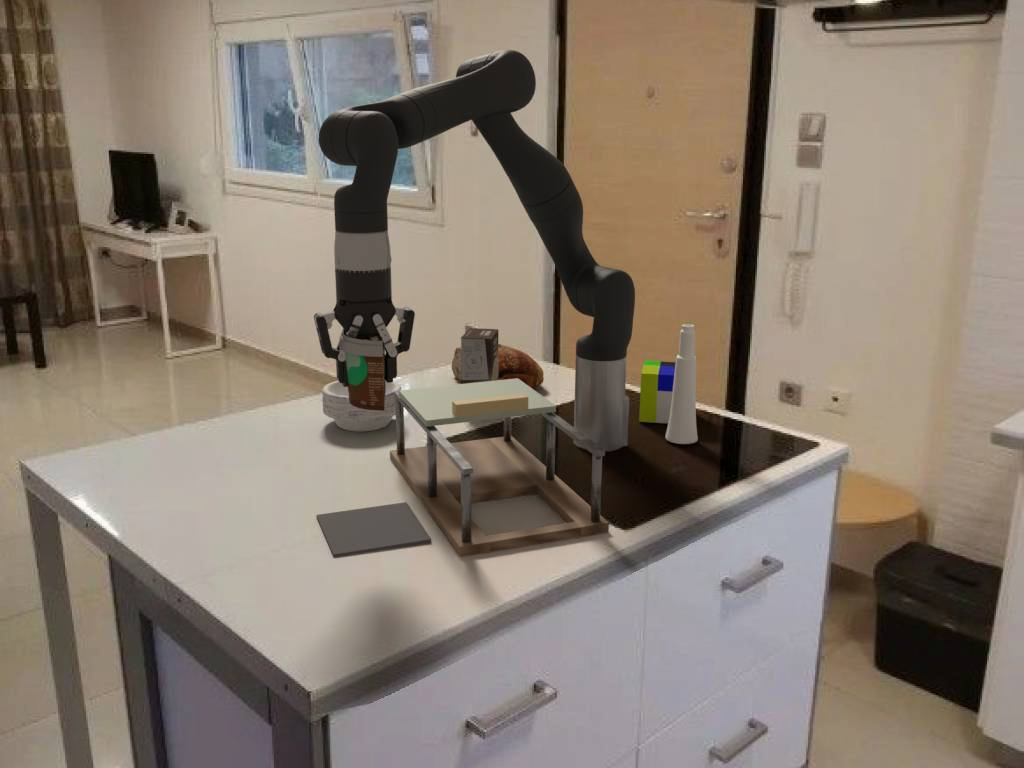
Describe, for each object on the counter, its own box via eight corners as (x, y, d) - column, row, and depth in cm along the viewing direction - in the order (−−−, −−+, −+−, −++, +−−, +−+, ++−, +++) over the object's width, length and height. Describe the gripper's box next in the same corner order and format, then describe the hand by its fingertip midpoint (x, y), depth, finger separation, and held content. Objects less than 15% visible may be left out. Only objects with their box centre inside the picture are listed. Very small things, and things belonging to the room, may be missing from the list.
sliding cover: (517, 383, 167) (517, 367, 166) (556, 411, 151) (556, 394, 151) (398, 395, 159) (398, 378, 158) (426, 426, 144) (425, 408, 143)
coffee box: (492, 416, 191) (492, 338, 186) (460, 414, 191) (460, 337, 187) (498, 402, 199) (499, 328, 195) (469, 401, 200) (468, 327, 196)
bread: (450, 376, 219) (449, 334, 216) (524, 370, 224) (525, 329, 221) (473, 402, 200) (473, 356, 197) (554, 395, 205) (554, 350, 203)
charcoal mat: (406, 505, 148) (406, 502, 147) (431, 542, 135) (431, 539, 135) (316, 518, 143) (316, 514, 143) (333, 558, 130) (333, 554, 130)
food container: (343, 388, 138) (341, 322, 136) (385, 388, 139) (384, 321, 136) (337, 414, 127) (335, 342, 124) (384, 413, 127) (382, 341, 125)
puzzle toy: (689, 425, 186) (692, 376, 183) (639, 421, 188) (641, 373, 185) (690, 409, 195) (693, 363, 193) (642, 406, 197) (644, 360, 195)
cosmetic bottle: (704, 440, 177) (712, 326, 171) (681, 446, 174) (688, 330, 168) (681, 431, 182) (688, 320, 176) (658, 437, 179) (664, 324, 172)
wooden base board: (511, 443, 175) (511, 435, 175) (608, 531, 139) (608, 522, 138) (390, 458, 167) (389, 450, 167) (459, 556, 131) (459, 546, 130)
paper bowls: (383, 408, 195) (382, 371, 193) (415, 429, 183) (414, 390, 180) (312, 420, 187) (310, 382, 185) (340, 443, 175) (338, 402, 173)
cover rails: (509, 437, 173) (509, 379, 170) (602, 522, 139) (605, 450, 135) (395, 451, 166) (393, 391, 163) (464, 544, 131) (463, 469, 128)
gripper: (407, 257, 134) (409, 372, 138) (305, 262, 129) (311, 381, 133) (421, 265, 127) (423, 385, 132) (314, 271, 122) (320, 395, 127)
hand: (367, 382), depth 132 cm, fingers closed on food container, 5 cm apart
